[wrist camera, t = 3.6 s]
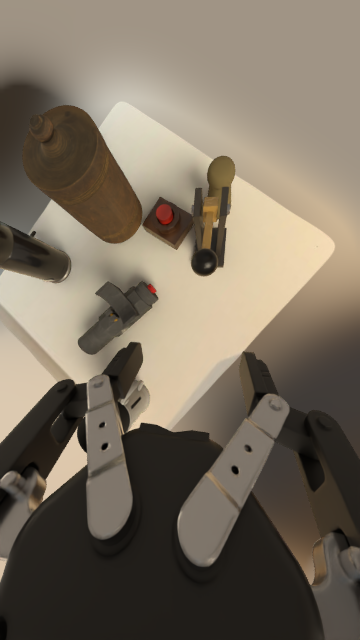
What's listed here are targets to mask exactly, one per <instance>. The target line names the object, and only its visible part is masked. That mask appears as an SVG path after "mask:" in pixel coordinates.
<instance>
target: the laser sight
mask: <svg viewBox="0 0 360 640" xmlns="http://www.w3.org/2000/svg"><path fill="white" fill-rule="evenodd" d="M155 292H156V289H155V288H154V287H153V286H152V285H151V284H149V285H147V284H146V283H145V282H143V281H141V282H140V283H139V284H138V286H136V287H132V288H130V289H129V290H128V291H127V292H126V293H125V294H123V292H122V291H121V290H120V288H118V287H116V286H115V285H113V284H111V283H110V282H107V283H105V284H104V285H103V286H102V287H101V288H100V289H99V290H98V291H97V292H96V293H95V294H96V295H98V296H100V297H102V298H103V299H105V300H106V301H107V302H108V303H109V304H110V305H111V307H110V308H109V309H107V310H106V311H105V312H104V313H103V314H102V315H101V316H100V317H99V321H98V322H97V323H96V324H95V325H94V326H93V327H91V328H90V329H89V330H88V331H87V332H86V333H85V334H84V335H83V336H82V337H80V338H79V339H78V345H79V347H80V348H81V349H82V350H83V351H84V352H86V353H88V354H91V355H94V354H96V353H97V352H98V351H99V350H101V349H102V348H103V347H104V346H105V345H106V344H107V343H108V342H110V341H111V340H112V339H113V338H114V337H117V336H120V335H121V334H122V333H123V332H125V331H126V330H127V329H128V328H129V327H130V326H131V325H133V324H134V323H135V322H136V321H137V320H138V319H139V318H141V317H142V316H143V315H144V314H145V313H146V312H147V311H149V310H150V309H151V308H152V304H153V303H155V302H156V301H157V300H158V297H157V295H156V294H155Z"/></svg>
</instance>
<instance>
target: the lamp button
mask: <svg viewBox="0 0 360 640" xmlns="http://www.w3.org/2000/svg"><path fill="white" fill-rule="evenodd" d="M156 216H157V218H158V220H159V222H160V223H161V224H164V225H166V224H169V223H170V222H171V221H172V219H173V212H172V209H171V207H170V206H169V205H167V204H163V205H160V206H159V207H158V208H157V211H156Z"/></svg>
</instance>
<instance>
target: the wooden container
mask: <svg viewBox="0 0 360 640" xmlns="http://www.w3.org/2000/svg"><path fill="white" fill-rule="evenodd" d="M29 128H30V131H29V133H28V135H27V137H26V140H25V143H24V146H23V166H24V169H25V172H26V174H27V176H28V178H29V179H30V180H31V182H32V183H33V184H34V185H36V186H37V187H38V188H39V189H40V190H41V191H42V192H44V193H45V194H46V195H47V196H49V197H50V198H51V199H53V200H54V201H55V202H56V203H57V204H58V205H60V206H61V207H62V208H63V209H64V210H66V211H67V212H68V213H69V214H70V215H72V216H73V217H74V218H75V219H76V220H77V221H79V222H80V223H81V224H82V225H83V226H85V227H86V228H87V229H89V230H90V231H91V232H93V233H94V234H95V235H96V236H98V237H99V238H100V239H102V240H103V241H105V242H108V243H121V242H124V241H126V240H128V239H129V238H131V237H132V236H133V235H134V234H135V232H136V231H137V230H138V228H139V226H140V224H141V220H142V207H141V204H140V202H139V200H138V198H137V196H136V194H135V192H134V191H133V189H132V187H131V185H130V184H129V182H128V180H127V178H126V177H125V175H124V173H123V172H122V170H121V168H120V167H119V165H118V164H117V162H116V160H115V159H114V157H113V155H112V154H111V152H110V150H109V149H108V147H107V145H106V143H105V141H104V139H103V137H102V135H101V133H100V131H99V130H98V128H97V126H96V124H95V123H94V121H93V120H92V119H91V117H90V116H89V115H88V114H87V113H86V112H85V111H84V110H82V109H80V108H78V107H75V106H69V105H63V106H58V107H55V108H53V109H51V110H49V111H47V112H45V113H44V114H43V115H33V116H32V118H31V119H30V125H29Z"/></svg>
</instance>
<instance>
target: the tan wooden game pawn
mask: <svg viewBox="0 0 360 640" xmlns="http://www.w3.org/2000/svg"><path fill="white" fill-rule="evenodd" d="M234 176H235V164H234V162H233V161H232V159H231V158H229V157H227V156H220V157H217V158H216V159H214V160H213V161H212V163H211V164H210V166H209V168H208V172H207V179H208V183H209V191H208V197H219V199H218V211H217V219H219V214H220V204H221V194H222V187H229V194H228V204H231V183H232V181H233V179H234ZM230 208H231V205H230Z"/></svg>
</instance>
